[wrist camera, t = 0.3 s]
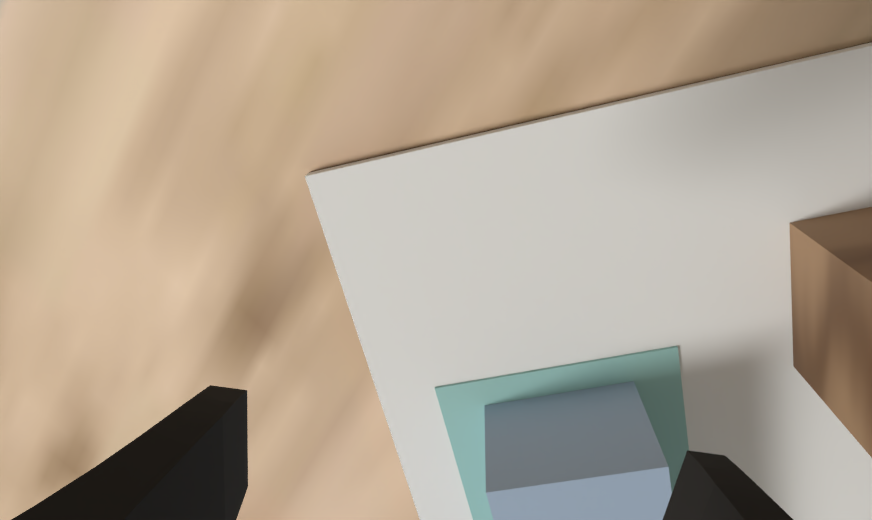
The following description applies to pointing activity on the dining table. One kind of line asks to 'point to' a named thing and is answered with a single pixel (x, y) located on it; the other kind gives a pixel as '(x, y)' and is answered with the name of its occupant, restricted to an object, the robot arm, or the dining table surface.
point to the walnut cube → (835, 314)
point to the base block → (575, 457)
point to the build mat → (611, 276)
